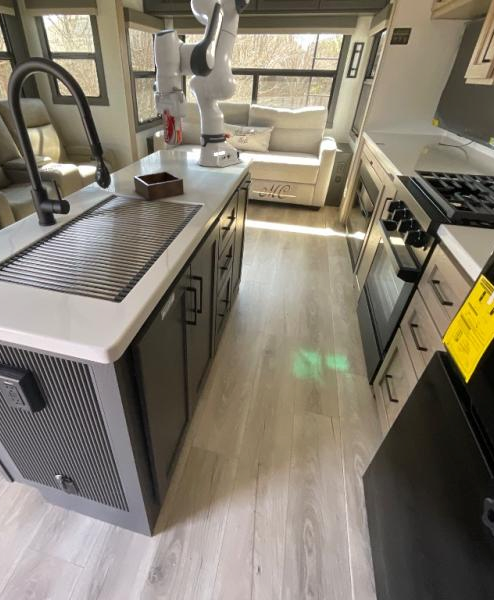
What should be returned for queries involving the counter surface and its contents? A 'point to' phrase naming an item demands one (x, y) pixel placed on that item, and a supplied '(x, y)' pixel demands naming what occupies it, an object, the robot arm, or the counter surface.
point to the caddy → (158, 185)
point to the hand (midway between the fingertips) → (172, 128)
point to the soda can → (171, 130)
